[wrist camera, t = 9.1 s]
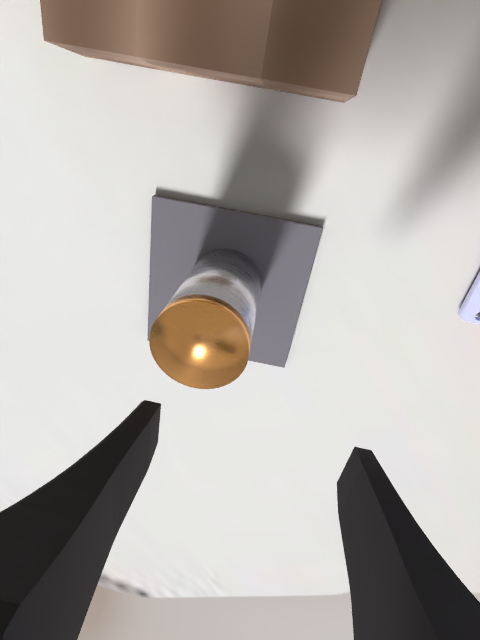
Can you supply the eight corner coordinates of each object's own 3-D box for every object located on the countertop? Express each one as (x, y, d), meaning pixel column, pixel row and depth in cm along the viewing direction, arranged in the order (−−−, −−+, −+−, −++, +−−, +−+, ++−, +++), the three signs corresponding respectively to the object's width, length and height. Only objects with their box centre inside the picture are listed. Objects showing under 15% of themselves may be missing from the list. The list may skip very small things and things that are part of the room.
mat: (321, 226, 18) (322, 228, 18) (284, 363, 22) (284, 367, 22) (154, 195, 18) (152, 196, 18) (149, 337, 23) (147, 340, 22)
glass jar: (266, 255, 19) (256, 313, 13) (255, 319, 21) (241, 396, 14) (194, 242, 19) (149, 294, 13) (190, 307, 21) (149, 379, 15)
